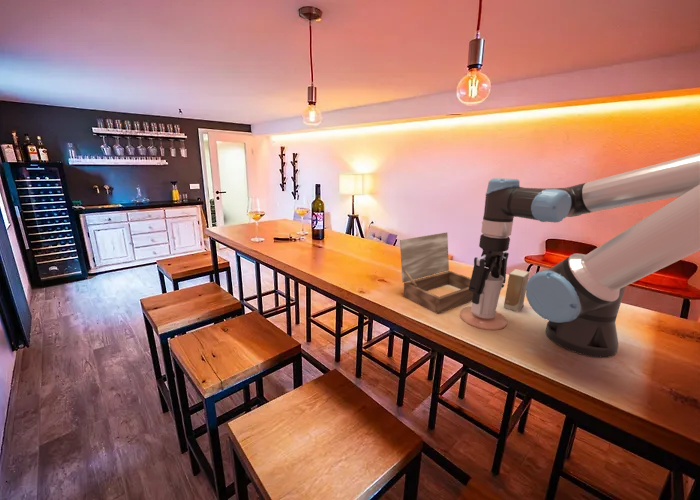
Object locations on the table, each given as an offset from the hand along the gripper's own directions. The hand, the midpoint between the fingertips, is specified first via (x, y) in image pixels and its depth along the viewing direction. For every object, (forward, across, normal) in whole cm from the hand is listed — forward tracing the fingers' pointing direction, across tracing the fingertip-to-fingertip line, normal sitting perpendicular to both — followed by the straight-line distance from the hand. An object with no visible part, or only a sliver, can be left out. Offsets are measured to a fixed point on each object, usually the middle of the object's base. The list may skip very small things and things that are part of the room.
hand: (483, 309), depth 88 cm
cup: (+2, 0, 0) cm, 2 cm away
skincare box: (+3, -16, +1) cm, 16 cm away
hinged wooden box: (+3, -3, -19) cm, 19 cm away
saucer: (+3, 0, 0) cm, 3 cm away
